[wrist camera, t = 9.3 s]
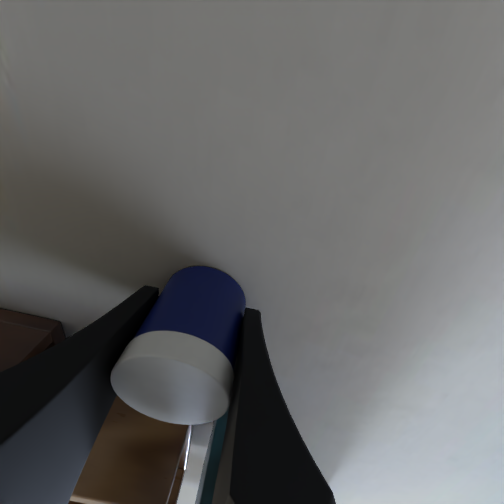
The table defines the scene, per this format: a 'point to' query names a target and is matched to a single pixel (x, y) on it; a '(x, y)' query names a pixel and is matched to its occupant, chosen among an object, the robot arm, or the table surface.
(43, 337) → the cabinet
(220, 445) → the drawer
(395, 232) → the table surface
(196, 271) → the blue jar
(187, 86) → the table surface
